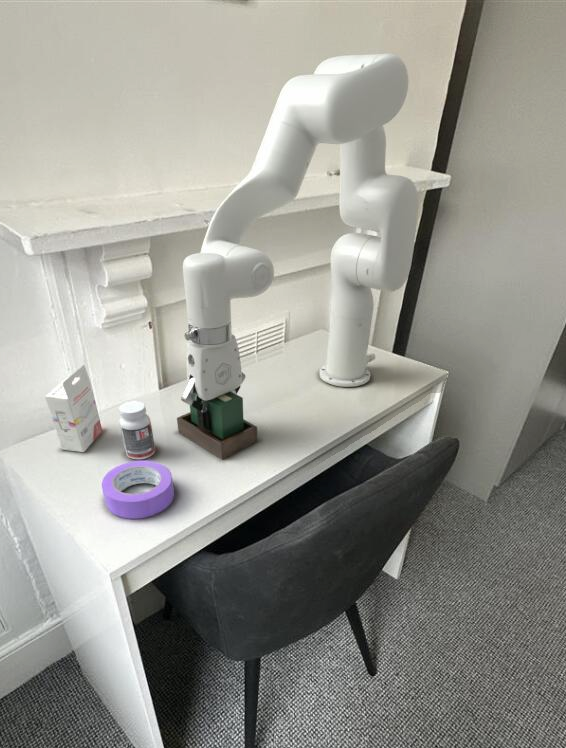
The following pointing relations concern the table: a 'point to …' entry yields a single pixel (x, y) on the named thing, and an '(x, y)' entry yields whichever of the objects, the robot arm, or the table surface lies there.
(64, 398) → the ink cartridge box
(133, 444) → the pill bottle
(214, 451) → the caddy
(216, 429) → the green box
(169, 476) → the tape roll
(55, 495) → the table surface
